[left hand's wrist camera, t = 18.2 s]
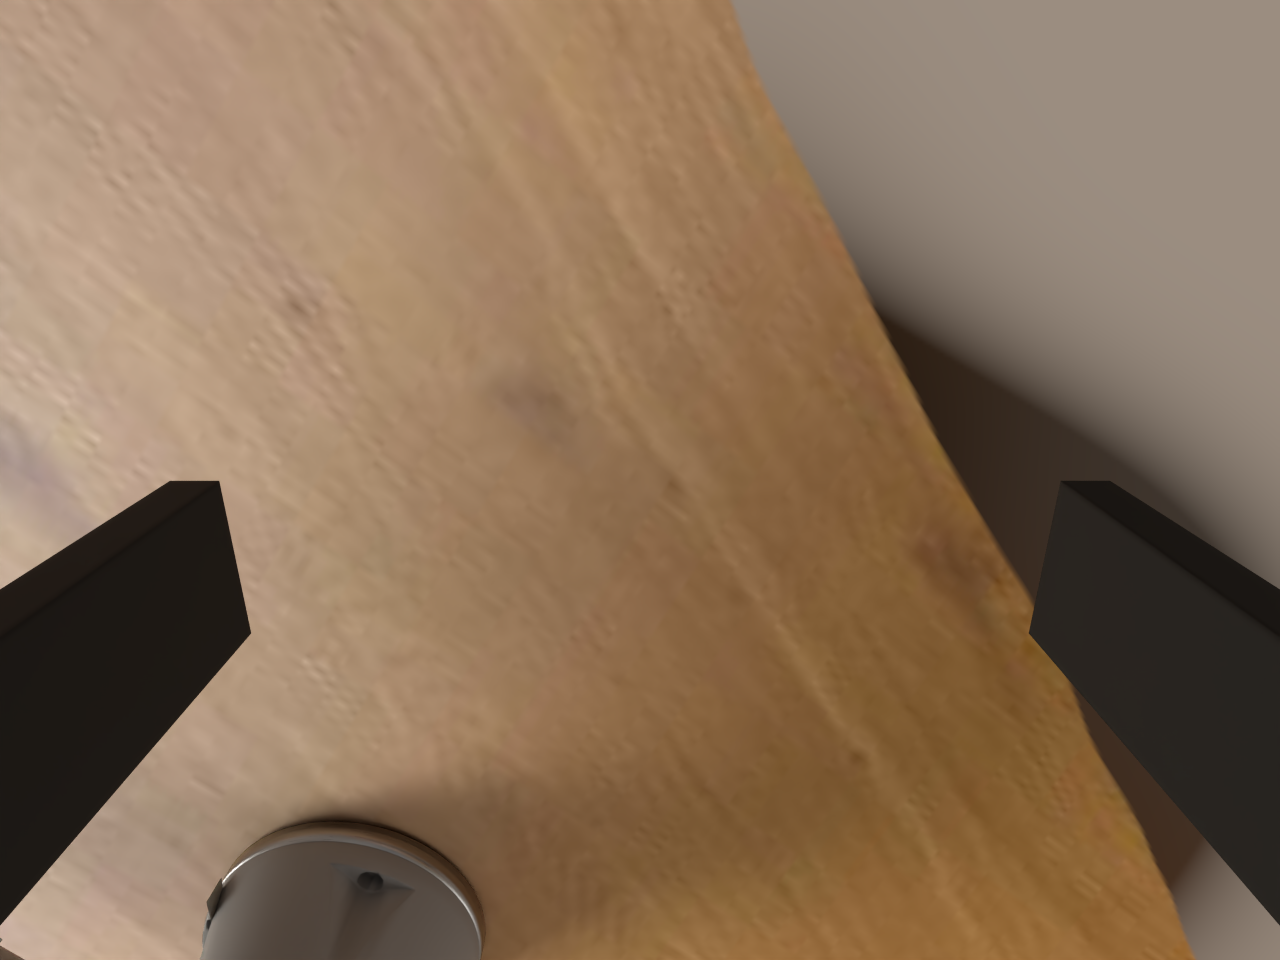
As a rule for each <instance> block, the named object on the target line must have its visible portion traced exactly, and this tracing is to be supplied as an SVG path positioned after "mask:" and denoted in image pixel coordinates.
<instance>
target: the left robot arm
mask: <svg viewBox="0 0 1280 960" xmlns="http://www.w3.org/2000/svg"><path fill="white" fill-rule="evenodd" d="M250 634H251V630H250V626H249V621H248V616H247V611H246V606H245V602H244V597H243V592H242V587H241V583H240V578H239V573H238V568H237V564H236V559H235V554H234V549H233V545H232V540H231V535H230V530H229V525H228V521H227V516H226V511H225V506H224V502H223V497H222V492H221V487H220V483H219V481H169V482H168V483H166V484H164V485H163V486H161V487H160V488H158V489H157V490H155V491H154V492H152V493H150V494H149V495H147V496H146V497H144V498H143V499H141V500H139V501H138V502H136V503H135V504H133V505H132V506H130V507H129V508H127V509H125V510H124V511H122V512H121V513H119V514H118V515H116V516H114V517H113V518H111V519H110V520H108V521H107V522H105V523H103V524H102V525H100V526H99V527H97V528H96V529H94V530H93V531H91V532H89V533H88V534H86V535H85V536H83V537H82V538H80V539H78V540H77V541H75V542H74V543H72V544H71V545H69V546H68V547H66V548H64V549H63V550H61V551H60V552H58V553H57V554H55V555H53V556H52V557H50V558H49V559H47V560H46V561H44V562H42V563H41V564H39V565H38V566H36V567H35V568H33V569H32V570H30V571H28V572H27V573H25V574H24V575H22V576H21V577H19V578H17V579H16V580H14V581H13V582H11V583H10V584H8V585H7V586H5V587H3V588H2V589H0V925H1V924H2V923H3V922H4V920H5V919H6V918H7V917H8V916H9V915H10V913H11V912H12V911H13V910H14V909H15V908H16V906H17V905H18V904H19V903H20V902H21V901H22V899H23V898H24V897H25V896H26V895H27V894H28V892H29V891H30V890H31V889H32V888H33V887H34V885H35V884H36V883H37V882H38V881H39V880H40V879H41V877H42V876H43V875H44V874H45V873H46V872H47V870H48V869H49V868H50V867H51V866H52V865H53V863H54V862H55V861H56V860H57V859H58V858H59V856H60V855H61V854H62V853H63V852H64V851H65V849H66V848H67V847H68V846H69V845H70V844H71V842H72V841H73V840H74V839H75V838H76V837H77V835H78V834H79V833H80V832H81V831H82V830H83V828H84V827H85V826H86V825H87V824H88V823H89V821H90V820H91V819H92V818H93V817H94V816H95V814H96V813H97V812H98V811H99V810H100V809H101V807H102V806H103V805H104V804H105V803H106V802H107V800H108V799H109V798H110V797H111V796H112V795H113V794H114V792H115V791H116V790H117V789H118V788H119V787H120V785H121V784H122V783H123V782H124V781H125V780H126V778H127V777H128V776H129V775H130V774H131V773H132V771H133V770H134V769H135V768H136V767H137V766H138V764H139V763H140V762H141V761H142V760H143V759H144V757H145V756H146V755H147V754H148V753H149V752H150V750H151V749H152V748H153V747H154V746H155V745H156V743H157V742H158V741H159V740H160V739H161V738H162V736H163V735H164V734H165V733H166V732H167V731H168V729H169V728H170V727H171V726H172V725H173V724H174V722H175V721H176V720H177V719H178V718H179V717H180V715H181V714H182V713H183V712H184V711H185V710H186V709H187V707H188V706H189V705H190V704H191V703H192V702H193V700H194V699H195V698H196V697H197V696H198V695H199V693H200V692H201V691H202V690H203V689H204V688H205V686H206V685H207V684H208V683H209V682H210V681H211V679H212V678H213V677H214V676H215V675H216V674H217V672H218V671H219V670H220V669H221V668H222V667H223V665H224V664H225V663H226V662H227V661H228V660H229V658H230V657H231V656H232V655H233V654H234V653H235V651H236V650H237V649H238V648H239V647H240V646H241V644H242V643H243V642H244V641H245V640H246V639H247V637H248V636H249V635H250ZM1029 634H1030V635H1031V636H1032V637H1033V639H1034V640H1035V641H1036V642H1037V643H1038V644H1039V646H1040V647H1041V648H1042V649H1043V650H1044V651H1045V653H1046V654H1047V655H1048V656H1049V657H1050V658H1051V660H1052V661H1053V662H1054V663H1055V664H1056V665H1057V667H1058V668H1059V669H1060V670H1061V671H1062V672H1063V674H1064V675H1065V676H1066V677H1067V678H1068V679H1069V681H1070V682H1071V683H1072V684H1073V685H1074V686H1075V688H1076V689H1077V690H1078V691H1079V692H1080V693H1081V695H1082V696H1083V697H1084V698H1085V699H1086V700H1087V702H1088V703H1089V704H1090V705H1091V706H1092V707H1093V709H1094V710H1095V711H1096V712H1097V713H1098V714H1099V715H1100V717H1101V718H1102V719H1103V720H1104V721H1105V722H1106V724H1107V725H1108V726H1109V727H1110V728H1111V729H1112V731H1113V732H1114V733H1115V734H1116V735H1117V736H1118V738H1119V739H1120V740H1121V741H1122V742H1123V743H1124V745H1125V746H1126V747H1127V748H1128V749H1129V750H1130V752H1131V753H1132V754H1133V755H1134V756H1135V757H1136V759H1137V760H1138V761H1139V762H1140V763H1141V764H1142V765H1143V767H1144V768H1145V769H1146V770H1147V771H1148V773H1149V774H1150V775H1151V776H1152V777H1153V778H1154V780H1155V781H1156V782H1157V783H1158V784H1159V785H1160V786H1161V788H1162V789H1163V790H1164V791H1165V792H1166V794H1167V795H1168V796H1169V797H1170V798H1171V799H1172V800H1173V802H1174V803H1175V804H1176V805H1177V806H1178V807H1179V809H1180V810H1181V811H1182V812H1183V813H1184V814H1185V816H1186V817H1187V818H1188V819H1189V820H1190V821H1191V823H1192V824H1193V825H1194V826H1195V827H1196V828H1197V830H1198V831H1199V832H1200V833H1201V834H1202V835H1203V837H1204V838H1205V839H1206V840H1207V841H1208V842H1209V844H1210V845H1211V846H1212V847H1213V848H1214V849H1215V851H1216V852H1217V853H1218V854H1219V855H1220V856H1221V858H1222V859H1223V860H1224V861H1225V862H1226V863H1227V865H1228V866H1229V867H1230V868H1231V869H1232V870H1233V872H1234V873H1235V874H1236V875H1237V876H1238V877H1239V879H1240V880H1241V881H1242V882H1243V883H1244V884H1245V885H1246V887H1247V888H1248V889H1249V890H1250V891H1251V892H1252V894H1253V895H1254V896H1255V897H1256V898H1257V899H1258V901H1259V902H1260V903H1261V904H1262V905H1263V906H1264V908H1265V909H1266V910H1267V911H1268V912H1269V913H1270V915H1271V916H1272V917H1273V918H1274V919H1275V920H1276V922H1277V923H1278V924H1279V925H1280V589H1278V588H1277V587H1275V586H1273V585H1272V584H1270V583H1269V582H1267V581H1266V580H1264V579H1263V578H1261V577H1259V576H1258V575H1256V574H1255V573H1253V572H1252V571H1250V570H1248V569H1247V568H1245V567H1244V566H1242V565H1241V564H1239V563H1237V562H1236V561H1234V560H1233V559H1231V558H1230V557H1228V556H1227V555H1225V554H1223V553H1222V552H1220V551H1219V550H1217V549H1216V548H1214V547H1212V546H1211V545H1209V544H1208V543H1206V542H1205V541H1203V540H1202V539H1200V538H1198V537H1197V536H1195V535H1194V534H1192V533H1191V532H1189V531H1187V530H1186V529H1184V528H1183V527H1181V526H1180V525H1178V524H1177V523H1175V522H1173V521H1172V520H1170V519H1169V518H1167V517H1166V516H1164V515H1162V514H1161V513H1159V512H1158V511H1156V510H1155V509H1153V508H1151V507H1150V506H1148V505H1147V504H1145V503H1144V502H1142V501H1141V500H1139V499H1137V498H1136V497H1134V496H1133V495H1131V494H1130V493H1128V492H1126V491H1125V490H1123V489H1122V488H1120V487H1119V486H1117V485H1116V484H1114V483H1112V482H1111V481H1061V483H1060V487H1059V492H1058V497H1057V502H1056V506H1055V511H1054V516H1053V521H1052V526H1051V530H1050V535H1049V540H1048V545H1047V549H1046V554H1045V559H1044V564H1043V568H1042V573H1041V578H1040V583H1039V588H1038V592H1037V597H1036V602H1035V606H1034V611H1033V616H1032V621H1031V626H1030V630H1029ZM207 906H208V914H207V917H206V921H205V926H204V931H203V951H202V954H201V958H200V960H480V959H481V955H482V950H483V946H484V940H485V921H484V915H483V911H482V908H481V905H480V903H479V900H478V898H477V896H476V894H475V892H474V891H473V889H472V887H471V886H470V884H469V883H468V882H467V880H466V879H465V878H464V877H463V876H462V874H461V873H460V872H459V871H458V870H457V869H456V868H455V867H454V866H453V865H452V864H450V863H449V862H448V861H447V860H446V859H444V858H443V857H442V856H441V855H439V854H438V853H436V852H435V851H433V850H432V849H430V848H429V847H427V846H425V845H423V844H421V843H419V842H418V841H416V840H413V839H411V838H409V837H407V836H404V835H402V834H399V833H396V832H393V831H391V830H387V829H383V828H380V827H376V826H371V825H366V824H360V823H352V822H337V821H334V822H315V823H307V824H301V825H296V826H292V827H289V828H285V829H282V830H279V831H277V832H274V833H272V834H270V835H268V836H266V837H264V838H262V839H260V840H259V841H257V842H255V843H254V844H252V845H251V846H250V847H249V848H247V849H246V850H245V851H244V852H243V853H242V854H241V855H240V856H239V857H238V858H237V860H236V861H235V862H234V863H233V865H232V866H231V868H230V870H229V871H228V873H227V875H226V876H225V878H224V880H223V881H222V880H221V879H220V881H219V882H218V884H217V886H216V887H215V889H214V891H213V892H212V894H211V896H210V897H209V899H208V901H207ZM1 941H2V939H1V938H0V942H1ZM0 960H24V959H22V958H21V957H19V956H17V955H15V954H14V953H12V952H10V951H9V950H7V949H5V948H3V947H2V946H0Z"/></svg>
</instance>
